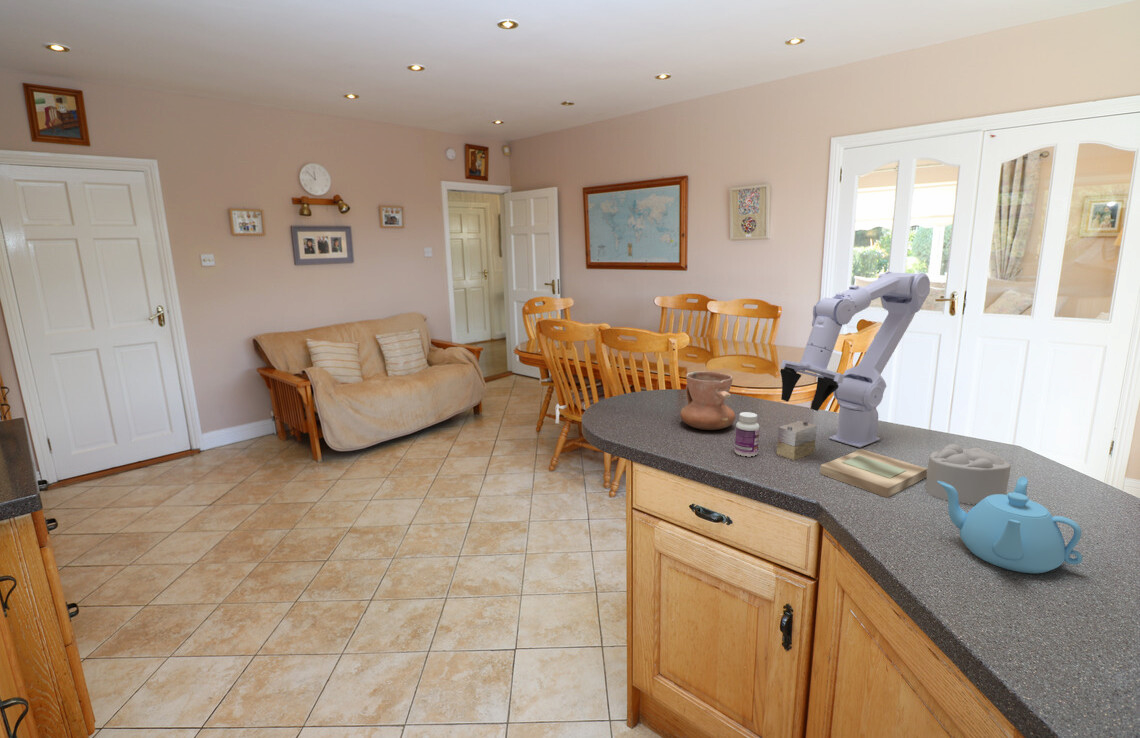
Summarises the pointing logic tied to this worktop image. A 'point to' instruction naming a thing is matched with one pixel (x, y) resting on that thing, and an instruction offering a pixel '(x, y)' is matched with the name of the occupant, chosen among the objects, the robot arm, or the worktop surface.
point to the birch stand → (874, 472)
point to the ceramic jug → (707, 401)
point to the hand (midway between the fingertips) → (799, 405)
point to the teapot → (1014, 531)
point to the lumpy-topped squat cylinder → (967, 473)
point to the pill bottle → (747, 435)
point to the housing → (796, 440)
